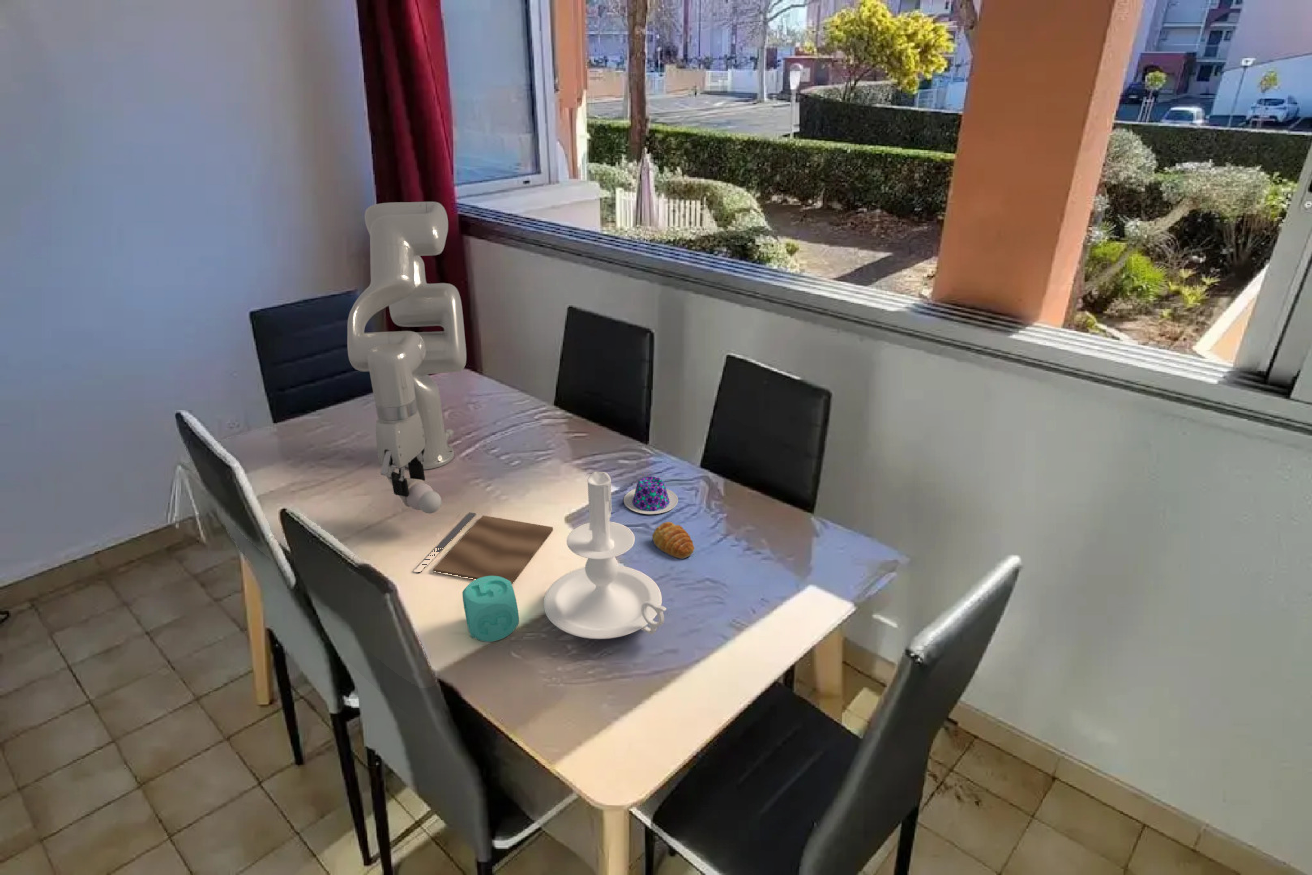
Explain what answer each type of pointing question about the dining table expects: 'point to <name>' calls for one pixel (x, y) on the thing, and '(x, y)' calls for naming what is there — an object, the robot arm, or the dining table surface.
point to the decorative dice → (490, 608)
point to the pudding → (650, 497)
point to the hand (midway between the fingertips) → (409, 486)
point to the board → (494, 549)
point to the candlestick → (603, 578)
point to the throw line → (453, 533)
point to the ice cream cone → (421, 496)
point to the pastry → (673, 540)
